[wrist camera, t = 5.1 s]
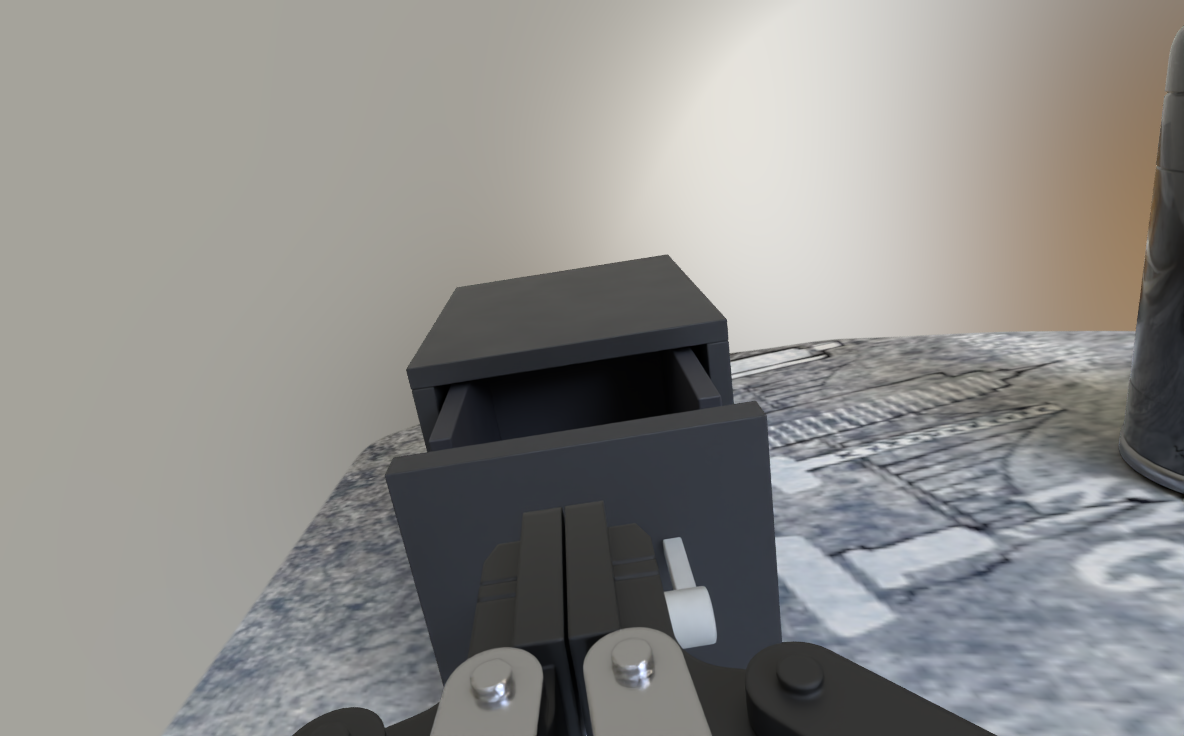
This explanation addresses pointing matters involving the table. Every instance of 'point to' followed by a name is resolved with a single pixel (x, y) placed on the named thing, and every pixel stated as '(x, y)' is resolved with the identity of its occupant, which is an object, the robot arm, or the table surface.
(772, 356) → the table surface
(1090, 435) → the table surface
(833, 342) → the table surface
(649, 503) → the dark grey drawer
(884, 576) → the table surface
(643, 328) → the grey drawer cabinet
